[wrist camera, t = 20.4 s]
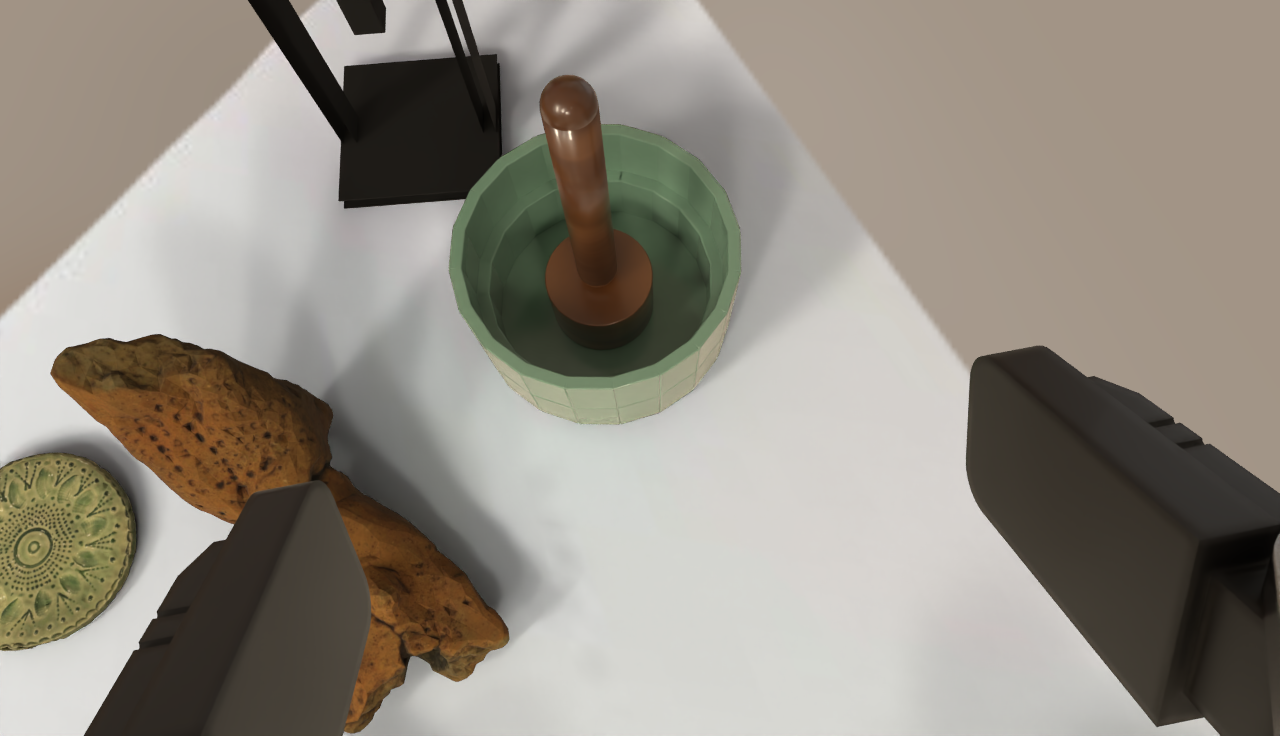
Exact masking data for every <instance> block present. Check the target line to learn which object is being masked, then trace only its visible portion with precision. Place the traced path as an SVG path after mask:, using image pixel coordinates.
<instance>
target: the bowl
mask: <svg viewBox="0 0 1280 736" xmlns="http://www.w3.org/2000/svg"><path fill="white" fill-rule="evenodd" d="M601 130H602V138H603V147H604V156H605V164H606V173H607V181H608V190H609V198H610V207H611V215H612V224H613V229H616V230H619V231H622V232H624V233H626V234H628V235H630V236H631V237H633V238H634V239H635V240H636V241H638V242H639V243H640V245H641V246H642V247H643V248H644V250H645V251H646V253H647V254H648V256H649V259H650V262H651V265H652V270H653V311H652V315H651V318H650V320H649V322H648V324H647V326H646V328H645V329H644V330H643V332H642V333H641V334H640V335H639V336H638V337H636V338H635V339H634V340H633V341H631V342H629V343H628V344H626V345H623V346H621V347H618V348H614V349H609V350H596V349H591V348H587V347H584V346H581V345H579V344H577V343H576V342H574V341H573V340H571V339H570V338H569V337H568V336H567V335H566V334H565V333H564V332H563V331H562V329H561V328H560V326H559V324H558V322H557V320H556V317H555V314H554V311H553V308H552V305H551V302H550V299H549V296H548V293H547V290H546V285H545V271H546V267H547V263H548V261H549V258H550V256H551V254H552V253H553V251H554V250H555V249H556V247H557V246H558V245H559V244H560V243H561V242H562V241H563V240H565V239H566V238H567V237H569V233H568V228H567V224H566V220H565V216H564V211H563V207H562V203H561V199H560V194H559V190H558V186H557V181H556V177H555V173H554V169H553V164H552V160H551V156H550V151H549V147H548V143H547V139H546V134H541V135H537V137H536V136H535V137H533V138H532V139H530V140H528V141H527V142H525V143H523V144H522V145H520V146H518V147H517V148H515V149H513V150H512V151H510V152H508V153H507V154H505V155H503V156H502V157H500V159H498V160H497V161H496V162H495V163H494V164H493V165H492V166H491V168H490V169H489V170H488V171H487V172H486V173H485V174H484V175H483V176H482V177H481V178H480V180H479V181H478V182H477V183H476V184H475V185H474V186H473V187H472V188H471V190H470V191H469V194H468V196H467V198H466V200H465V202H464V204H463V207H462V209H461V211H460V213H459V215H458V217H457V220H456V222H455V224H454V226H453V230H452V240H451V250H450V260H449V274H450V278H451V282H452V286H453V290H454V294H455V298H456V302H457V306H458V310H459V312H460V314H461V315H462V317H463V318H464V320H465V321H466V323H467V324H468V326H469V327H470V329H471V330H472V332H473V334H474V335H475V337H476V338H477V340H478V341H479V343H480V344H481V346H482V347H483V349H484V350H485V352H486V354H487V355H488V357H489V358H490V360H491V361H492V363H493V364H494V366H495V367H496V369H497V370H498V371H499V373H500V374H501V376H502V377H503V379H504V380H505V382H506V383H507V385H508V386H509V387H510V388H511V389H512V390H513V391H515V392H516V393H517V394H519V395H520V396H521V397H523V398H524V399H525V400H527V401H528V402H529V403H531V404H532V405H533V406H535V407H536V408H537V409H539V410H541V411H543V412H545V413H548V414H551V415H554V416H557V417H560V418H563V419H566V420H569V421H572V422H575V423H580V424H615V425H619V424H624V423H627V422H630V421H634V420H637V419H640V418H644V417H647V416H650V415H654V414H657V413H659V412H662V411H663V410H665V409H666V408H668V407H669V406H671V405H672V404H673V403H675V402H676V401H678V400H679V399H681V398H682V397H684V396H685V395H687V394H688V393H690V392H691V391H692V390H693V389H694V388H695V387H696V386H697V384H698V383H699V382H700V381H701V379H702V378H703V377H704V375H705V374H706V373H707V371H708V370H709V369H710V367H711V366H712V365H713V364H714V362H715V361H716V359H717V357H718V355H719V352H720V349H721V346H722V343H723V340H724V337H725V334H726V331H727V328H728V325H729V321H730V317H731V313H732V308H733V304H734V300H735V296H736V292H737V288H738V283H739V279H740V275H741V234H740V228H739V225H738V222H737V220H736V217H735V215H734V212H733V209H732V207H731V204H730V201H729V199H728V196H727V194H726V192H725V190H724V189H723V188H722V186H721V185H720V184H719V183H718V182H717V180H716V179H715V178H714V177H713V176H712V174H711V173H710V172H709V171H708V170H707V168H706V167H705V166H704V165H703V163H702V162H701V161H700V160H698V158H696V157H695V156H693V155H692V154H690V153H688V152H687V151H685V150H684V149H682V148H681V147H679V146H677V145H676V144H674V143H673V142H671V141H670V140H668V139H667V138H665V137H662V136H660V135H657V134H653V133H650V132H646V131H643V130H639V129H636V128H632V127H629V126H625V125H621V124H601Z"/></svg>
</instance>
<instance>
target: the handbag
mask: <svg viewBox="0 0 1280 736" xmlns="http://www.w3.org/2000/svg"><path fill="white" fill-rule="evenodd" d="M248 1H249V3H250V4H251V6H252V7H253V9H254V10H255V12H256V13H257V15H258V16H259V18H260V19H261V21H262V22H263V24H264V25H265V27H266V28H267V30H268V31H269V33H270V34H271V36H272V37H273V39H274V40H275V42H276V43H277V45H278V46H279V48H280V49H281V51H282V52H283V54H284V55H285V57H286V58H287V60H288V61H289V63H290V65H291V66H292V68H293V69H294V71H295V72H296V74H297V75H298V77H299V78H300V80H301V81H302V83H303V84H304V86H305V87H306V89H307V90H308V92H309V93H310V95H311V96H312V98H313V99H314V101H315V102H316V104H317V105H318V107H319V108H320V110H321V111H322V113H323V114H324V116H325V117H326V119H327V120H328V122H329V123H330V125H331V126H332V128H333V129H334V131H335V132H336V134H337V135H338V137H339V139H340V140H341V155H340V178H339V201H344V209H345V208H358V207H370V206H383V205H396V204H408V203H421V202H434V201H446V200H459V199H466V198H467V196H468V194H469V191H470V190H471V188H472V187H473V186H474V185H475V184H476V183H477V182H478V181H479V180H480V178H481V177H482V176H483V175H484V174H485V173H486V172H487V171H488V170H489V169H490V168H491V166H492V165H493V164H494V163H495V162H496V161H497V160H498V159H500V157H502V137H501V100H500V64H499V63H497V54H493V55H479V52H478V49H477V46H476V42H475V39H474V36H473V33H472V30H471V27H470V23H469V20H468V17H467V14H466V11H465V8H464V4H463V1H462V0H452V1H453V4H454V7H455V10H456V13H457V16H458V19H459V22H460V25H461V28H462V31H463V34H464V37H465V40H466V43H467V46H468V49H469V52H470V55H471V56H467V57H466V56H465V53H464V50H463V47H462V44H461V41H460V38H459V36H458V33H457V30H456V27H455V24H454V21H453V18H452V15H451V12H450V9H449V6H448V3H447V0H435V1H436V3H437V6H438V9H439V12H440V15H441V17H442V20H443V23H444V26H445V28H446V31H447V34H448V37H449V40H450V42H451V45H452V48H453V51H454V53H455V56H456V57H455V58H442V59H429V60H416V61H404V62H391V63H378V64H366V65H353V66H344V86H343V90H342V89H341V87H340V85H339V84H338V82H337V80H336V79H335V77H334V75H333V74H332V72H331V70H330V69H329V67H328V65H327V64H326V62H325V60H324V59H323V57H322V55H321V54H320V52H319V50H318V49H317V47H316V45H315V43H314V42H313V40H312V38H311V37H310V35H309V33H308V32H307V30H306V28H305V27H304V25H303V23H302V22H301V20H300V18H299V17H298V15H297V13H296V12H295V10H294V8H293V7H292V5H291V3H290V2H289V0H248ZM337 2H338V4H339V6H340V8H341V10H342V12H343V14H344V16H345V18H346V20H347V22H348V23H349V25H350V27H351V29H352V31H353V33H354V35H362V34H374V33H385V24H386V7H385V5H384V3H383V0H337Z"/></svg>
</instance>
